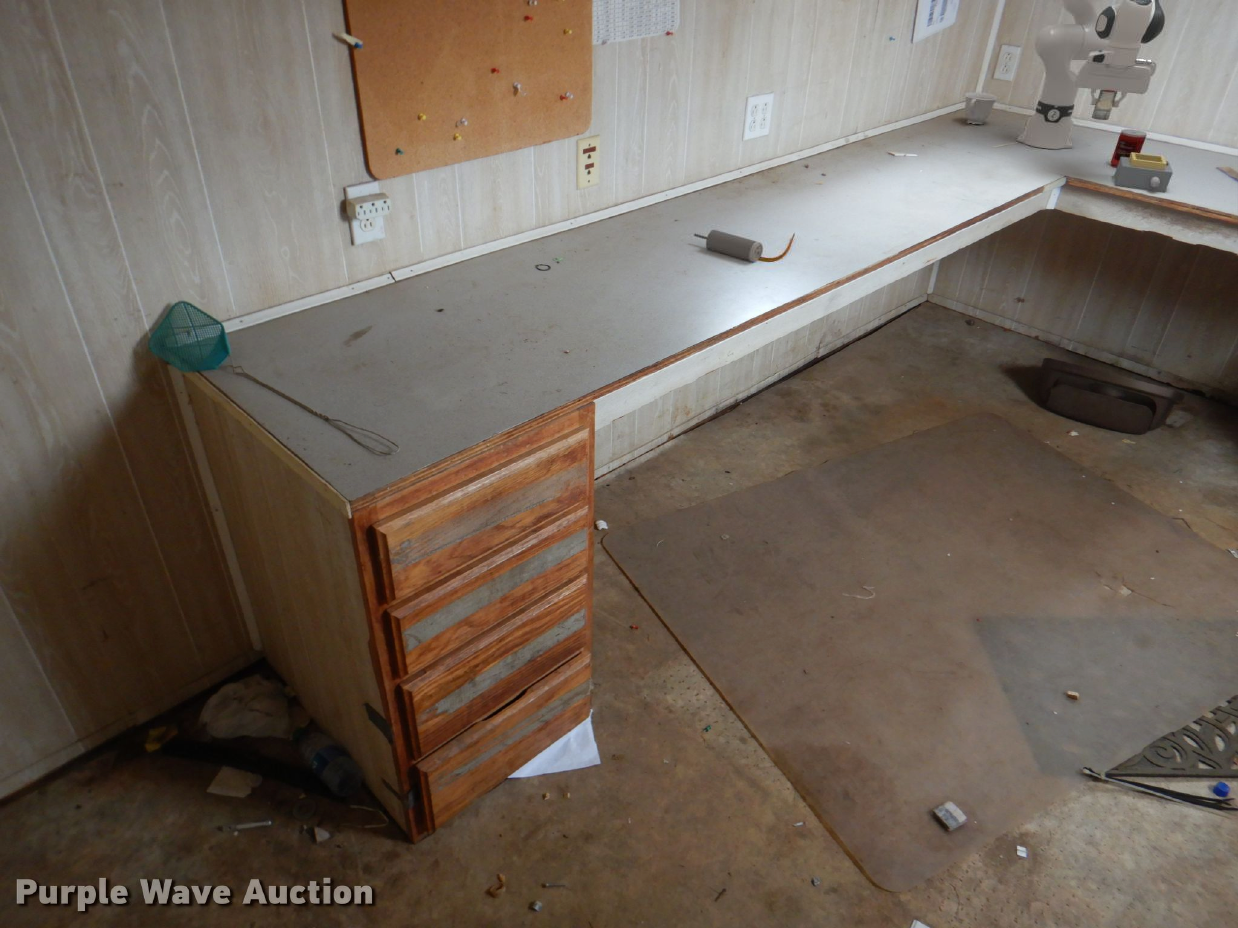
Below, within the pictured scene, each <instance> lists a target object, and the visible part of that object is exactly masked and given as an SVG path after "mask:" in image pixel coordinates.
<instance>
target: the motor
mask: <svg viewBox="0 0 1238 928" xmlns="http://www.w3.org/2000/svg"><path fill="white" fill-rule="evenodd" d="M795 234H796V233H795V232H793V234H792V236H791V239H790V242H789V244H788V246H787V247H786V249H785V250H784V251H783V252H782V253H781V254H780V255H778V256H776V257H775V256H774V257H764V256H762V255H763V251H764V246H763V243H761V242H759V241H756V240H753V239H749V238H747V237H743V236H738V235H735V234H731V233H728V232H724V231H720V230H718V229H712V230H711V231H709V232H708V234H707V236H706V235H705V236H704V235H702V234H698V233H693V236H694V237H696V238H700V239H704V240H706V241H705V242H706V243H705V246H706V248H707V250H710V251H713V252H716V253H719V254H723V255H726V256H730V257H732V258H733V257H734V258H737V259H739V260H740V259H741V260H743V261H747V262H750V263H756V262H758V261H763V262H776V261H779V260H781V259H783V258H784V257H785V256H786V255H787V253H788V252H789V251H790V250H791V246H792V243H793V240H794V237H795Z"/></svg>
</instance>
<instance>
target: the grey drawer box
mask: <svg viewBox="0 0 1238 928" xmlns="http://www.w3.org/2000/svg"><path fill="white" fill-rule="evenodd" d="M1173 173H1174V172H1173V168H1172V166H1171V164H1170V162H1169V161H1168V160H1166V158H1165V156H1163V155H1156V154H1148V153H1142V152H1140V153H1133V152H1131V154H1130V157H1129V158H1127V157H1121V158H1120V160H1119V163H1118V166H1117V168H1116V169H1115V172H1114V175H1113V177H1114V178H1113V179H1114V182H1115V186H1116V187H1117V186H1118V187H1124V188H1132V189H1139V190H1146V191H1154V192H1162V193H1166V191H1167V188H1168V186H1169V183H1170V180H1172V176H1173Z"/></svg>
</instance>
